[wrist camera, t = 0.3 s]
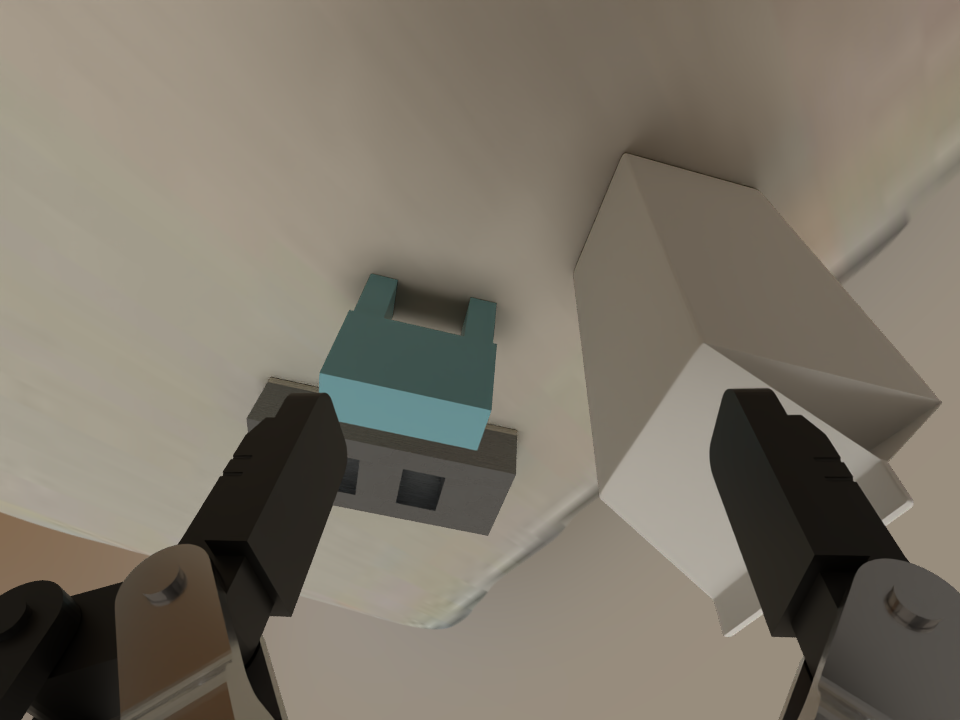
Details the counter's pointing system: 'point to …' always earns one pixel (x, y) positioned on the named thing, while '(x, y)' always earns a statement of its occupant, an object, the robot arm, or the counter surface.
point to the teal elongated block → (412, 371)
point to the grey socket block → (415, 470)
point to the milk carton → (722, 361)
